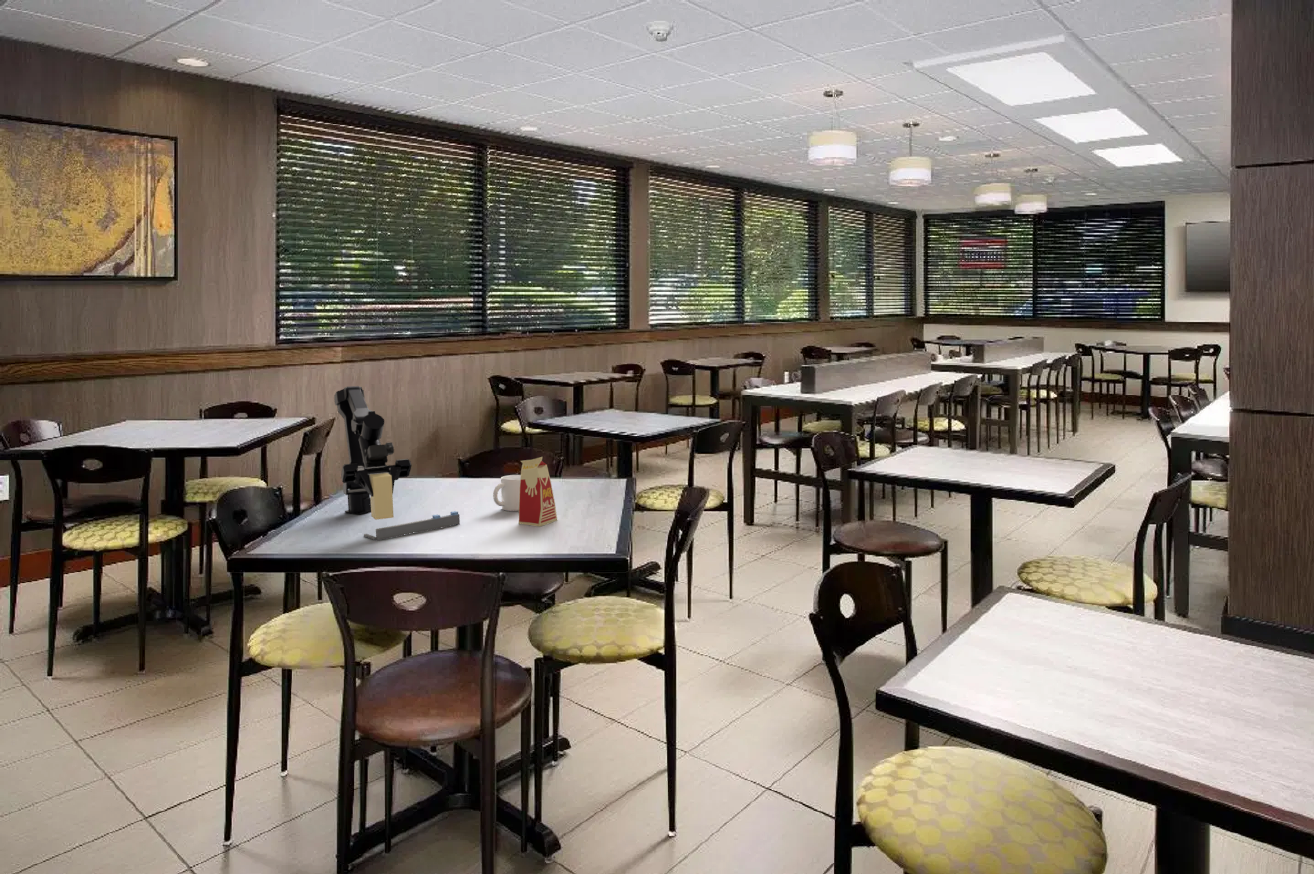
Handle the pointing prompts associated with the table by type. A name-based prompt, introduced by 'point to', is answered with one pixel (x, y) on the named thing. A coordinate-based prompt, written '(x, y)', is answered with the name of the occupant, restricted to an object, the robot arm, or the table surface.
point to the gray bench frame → (416, 526)
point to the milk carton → (536, 494)
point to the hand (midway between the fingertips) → (382, 494)
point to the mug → (508, 492)
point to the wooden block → (381, 496)
